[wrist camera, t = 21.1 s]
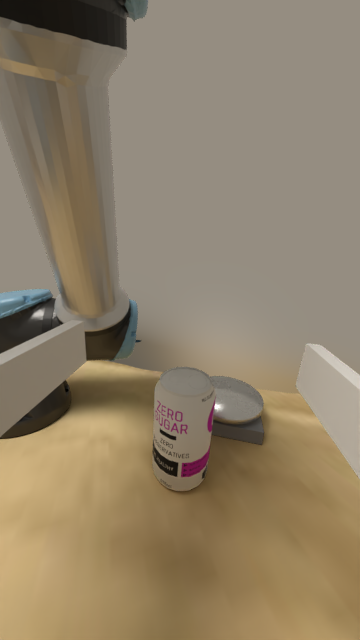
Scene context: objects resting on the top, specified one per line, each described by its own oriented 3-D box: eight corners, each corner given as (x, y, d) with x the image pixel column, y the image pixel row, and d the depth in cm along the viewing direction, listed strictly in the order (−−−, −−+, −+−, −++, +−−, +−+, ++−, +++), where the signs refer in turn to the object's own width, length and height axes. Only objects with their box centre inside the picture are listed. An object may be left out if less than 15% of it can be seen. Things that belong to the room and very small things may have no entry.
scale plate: (185, 428, 40) (187, 409, 39) (195, 386, 53) (197, 372, 52) (265, 444, 37) (269, 425, 36) (255, 396, 50) (258, 381, 49)
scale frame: (188, 429, 40) (189, 418, 39) (197, 390, 52) (198, 381, 52) (261, 444, 38) (264, 432, 37) (252, 400, 50) (254, 390, 49)
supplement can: (204, 447, 37) (213, 367, 33) (208, 498, 29) (220, 401, 25) (157, 442, 37) (160, 362, 33) (147, 492, 29) (149, 395, 25)
